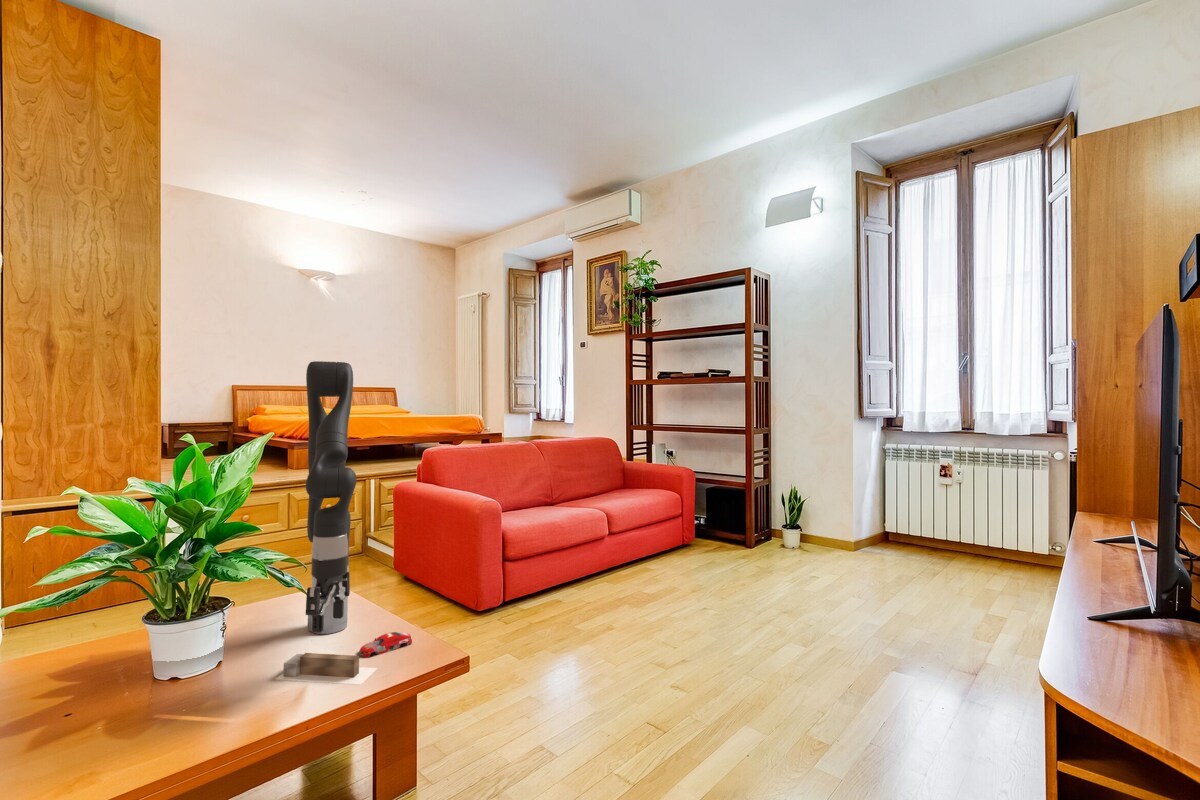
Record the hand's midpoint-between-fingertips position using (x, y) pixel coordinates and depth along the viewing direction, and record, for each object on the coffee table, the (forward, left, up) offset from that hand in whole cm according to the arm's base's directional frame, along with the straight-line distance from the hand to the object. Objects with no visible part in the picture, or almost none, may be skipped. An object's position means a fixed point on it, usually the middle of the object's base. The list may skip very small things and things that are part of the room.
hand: (328, 624), depth 133 cm
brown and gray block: (0, 0, -11) cm, 11 cm away
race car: (+7, +15, -12) cm, 21 cm away
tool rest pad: (0, 0, -12) cm, 12 cm away
